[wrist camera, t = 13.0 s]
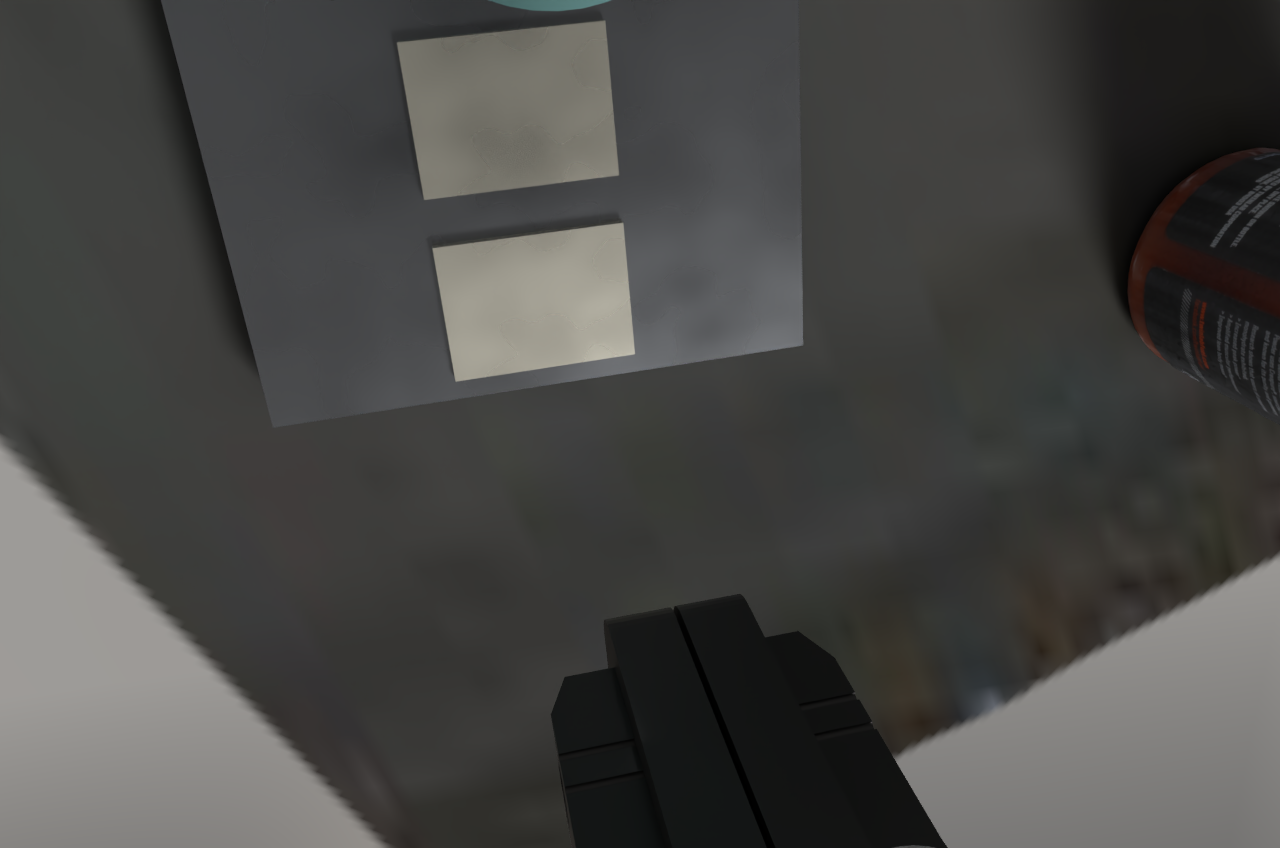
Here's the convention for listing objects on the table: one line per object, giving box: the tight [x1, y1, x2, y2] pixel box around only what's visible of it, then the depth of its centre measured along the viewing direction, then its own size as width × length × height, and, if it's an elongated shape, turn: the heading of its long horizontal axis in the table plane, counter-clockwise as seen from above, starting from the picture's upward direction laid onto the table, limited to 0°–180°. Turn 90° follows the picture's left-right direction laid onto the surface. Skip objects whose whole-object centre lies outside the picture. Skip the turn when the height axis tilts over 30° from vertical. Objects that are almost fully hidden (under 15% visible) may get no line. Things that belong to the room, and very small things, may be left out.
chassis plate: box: [161, 0, 803, 428], centre depth 18 cm, size 12×12×10 cm
